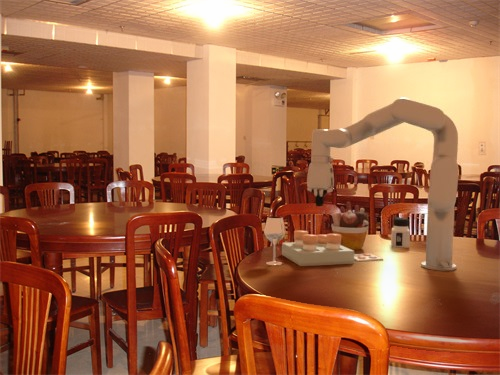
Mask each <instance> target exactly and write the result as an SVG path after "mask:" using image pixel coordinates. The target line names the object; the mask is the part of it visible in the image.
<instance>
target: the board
mask: <svg viewBox="0 0 500 375" xmlns="http://www.w3.org/2000/svg"><path fill="white" fill-rule="evenodd" d="M354 254H355V250H351V249H349V248H346V247H344V246H342V245H340V250H328V249H327V245H324V246H319V245H317V251H304V250H303V246H297V247H296V246H294V242H293V241H291V242H282V243H281V255H282V256H284V257H285V258H287V259H288V260H290V261H291V262H293V263H295V264H297V265H298V266H299V267H307V266H308V267H309V266H311V267H312V266H313V267H314V266H331V265H332V266H333V265H352V264H355V260H354Z"/></svg>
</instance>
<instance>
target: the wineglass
mask: <svg viewBox="0 0 500 375" xmlns="http://www.w3.org/2000/svg"><path fill="white" fill-rule="evenodd" d="M263 233H264V236H265V237H266V239H268V241H269V242H271V244H272V246H273V251H272V252H273V255H272V257H273V258H272V261H267V262H266V263H265V265H266V266H267V265H268V266H273V267H274V266H275V267H276V266H277V267H278V266H282V265H283V262H281V261H276V250H277V249H276V246H277V244H278V243H279V242H280V241H282V240H283V238H284V237H285V236H286V233H287V232H286V226H285V222H284V217H283V216H278V215H272V216H267V218H266V222H265V226H264V229H263Z"/></svg>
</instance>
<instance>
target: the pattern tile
mask: <svg viewBox="0 0 500 375" xmlns="http://www.w3.org/2000/svg"><path fill="white" fill-rule="evenodd" d="M354 261H356V262H374V261H376V262H377V261H378V262H379V261H384V258H382V257H379V256H377V255H374V254H373V253H354Z"/></svg>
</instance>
